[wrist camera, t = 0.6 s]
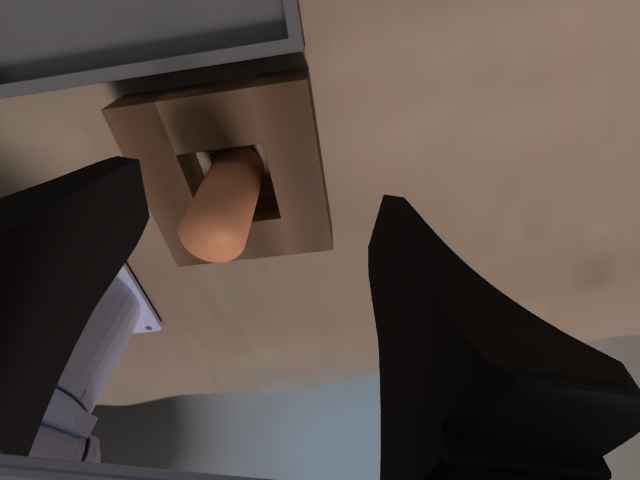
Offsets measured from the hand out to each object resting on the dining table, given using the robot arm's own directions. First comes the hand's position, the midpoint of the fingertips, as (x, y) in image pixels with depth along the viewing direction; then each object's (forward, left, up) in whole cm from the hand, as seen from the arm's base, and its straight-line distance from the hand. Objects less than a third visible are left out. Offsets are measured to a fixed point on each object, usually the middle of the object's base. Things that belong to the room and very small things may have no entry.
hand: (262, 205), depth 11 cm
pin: (-4, -3, -11) cm, 12 cm away
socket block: (-4, -4, -11) cm, 12 cm away
